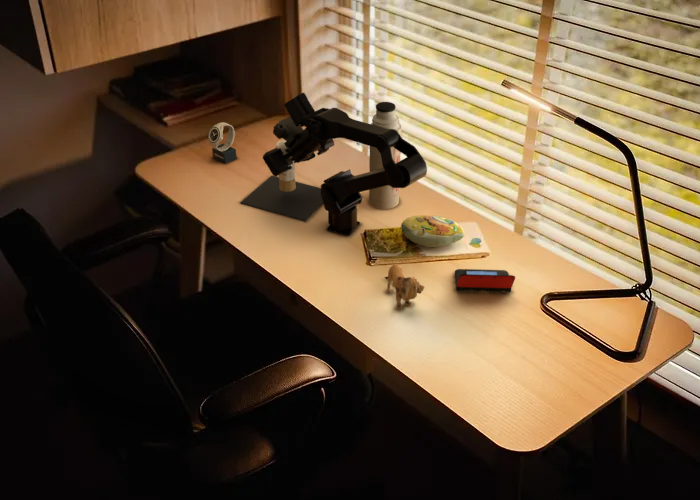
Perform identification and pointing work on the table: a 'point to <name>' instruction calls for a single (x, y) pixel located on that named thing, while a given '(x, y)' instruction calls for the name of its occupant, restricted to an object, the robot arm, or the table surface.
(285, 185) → the sprinkles bottle
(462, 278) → the handheld console
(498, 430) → the table surface
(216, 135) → the watch
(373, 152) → the thermos bottle
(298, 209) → the desk mat
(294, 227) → the table surface
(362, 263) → the table surface
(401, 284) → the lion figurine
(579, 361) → the table surface
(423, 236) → the cell model
